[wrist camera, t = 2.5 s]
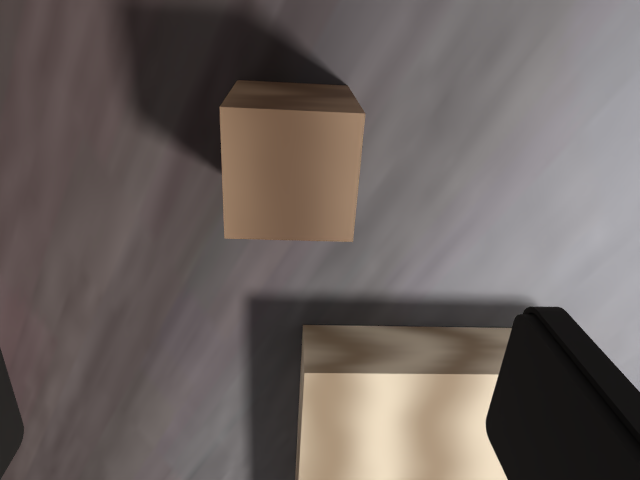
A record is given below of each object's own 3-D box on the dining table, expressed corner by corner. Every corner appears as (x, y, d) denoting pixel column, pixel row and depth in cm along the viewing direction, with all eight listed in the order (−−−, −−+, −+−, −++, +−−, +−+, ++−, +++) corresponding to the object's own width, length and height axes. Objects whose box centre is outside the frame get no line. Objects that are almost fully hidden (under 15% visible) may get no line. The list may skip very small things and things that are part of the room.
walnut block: (347, 85, 22) (365, 113, 17) (339, 187, 24) (352, 241, 19) (237, 79, 22) (219, 106, 16) (239, 184, 24) (224, 238, 18)
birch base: (566, 328, 29) (605, 375, 25) (505, 499, 36) (528, 554, 33) (302, 324, 28) (304, 373, 24) (294, 502, 35) (294, 559, 31)
